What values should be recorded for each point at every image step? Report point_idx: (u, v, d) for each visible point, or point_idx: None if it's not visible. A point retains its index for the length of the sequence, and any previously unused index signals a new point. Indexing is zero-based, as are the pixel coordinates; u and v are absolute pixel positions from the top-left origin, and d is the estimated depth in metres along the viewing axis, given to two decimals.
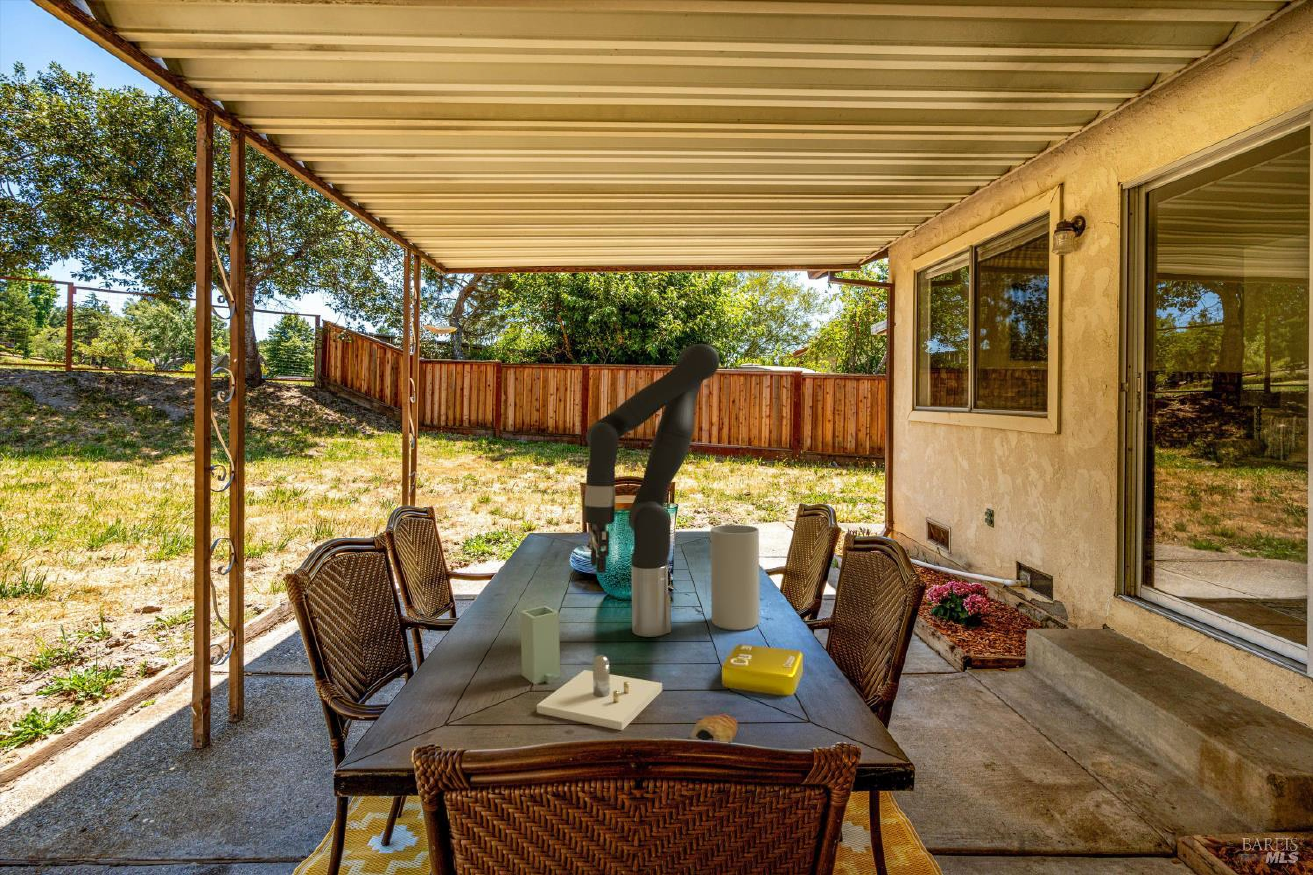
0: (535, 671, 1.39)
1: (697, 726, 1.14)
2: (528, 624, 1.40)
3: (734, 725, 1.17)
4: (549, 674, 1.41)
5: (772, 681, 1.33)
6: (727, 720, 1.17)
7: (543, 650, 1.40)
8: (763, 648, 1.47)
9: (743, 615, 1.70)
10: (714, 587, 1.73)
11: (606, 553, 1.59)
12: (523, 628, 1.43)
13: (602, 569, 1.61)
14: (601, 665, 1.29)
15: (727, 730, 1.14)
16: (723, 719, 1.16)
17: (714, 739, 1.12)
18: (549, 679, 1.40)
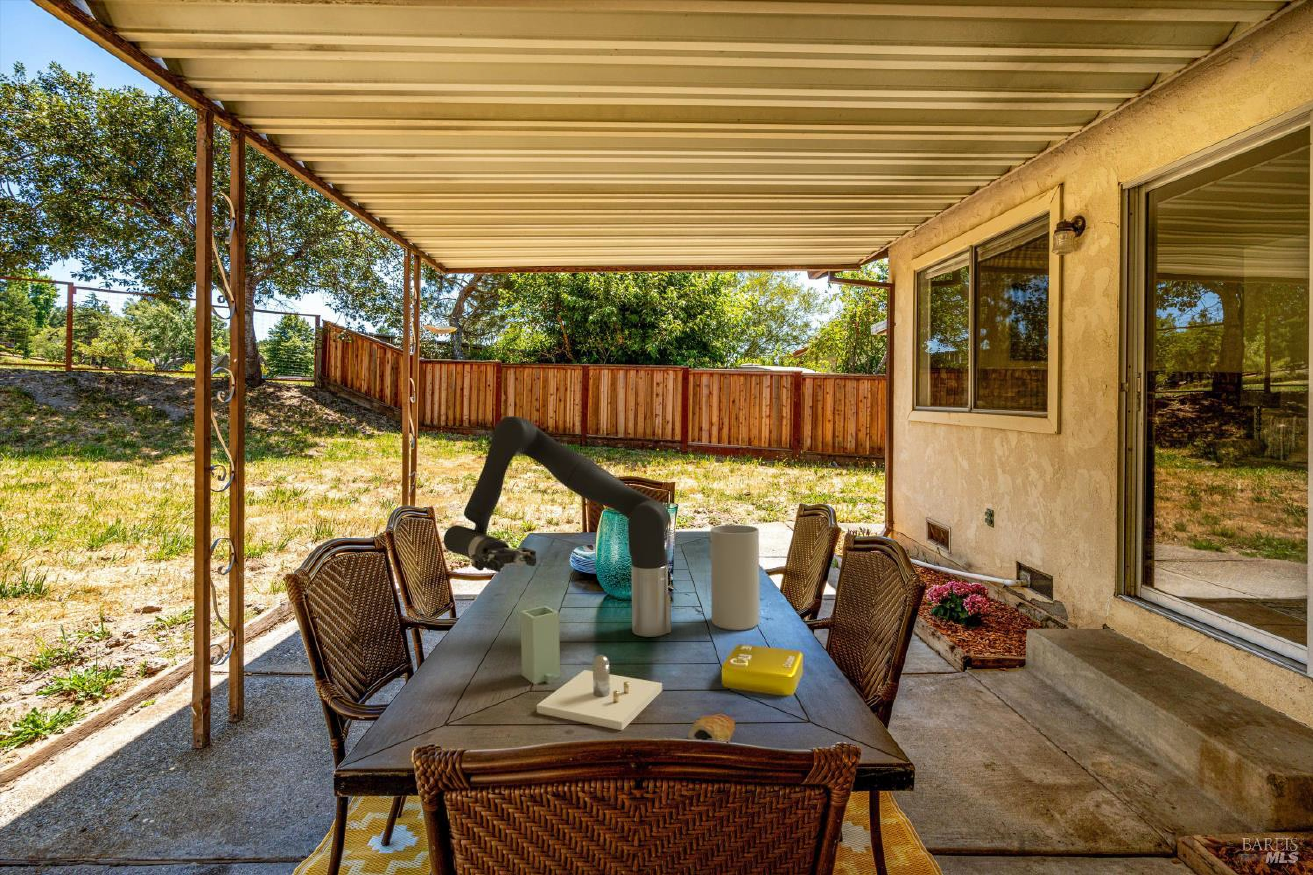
0: (535, 671, 1.39)
1: (695, 726, 1.14)
2: (528, 624, 1.40)
3: (732, 725, 1.17)
4: (549, 674, 1.41)
5: (772, 681, 1.33)
6: (725, 720, 1.17)
7: (543, 650, 1.40)
8: (763, 648, 1.47)
9: (743, 615, 1.70)
10: (714, 587, 1.73)
11: (478, 561, 1.51)
12: (523, 628, 1.43)
13: (493, 566, 1.49)
14: (601, 665, 1.29)
15: (725, 730, 1.14)
16: (721, 719, 1.16)
17: (712, 739, 1.12)
18: (549, 679, 1.40)
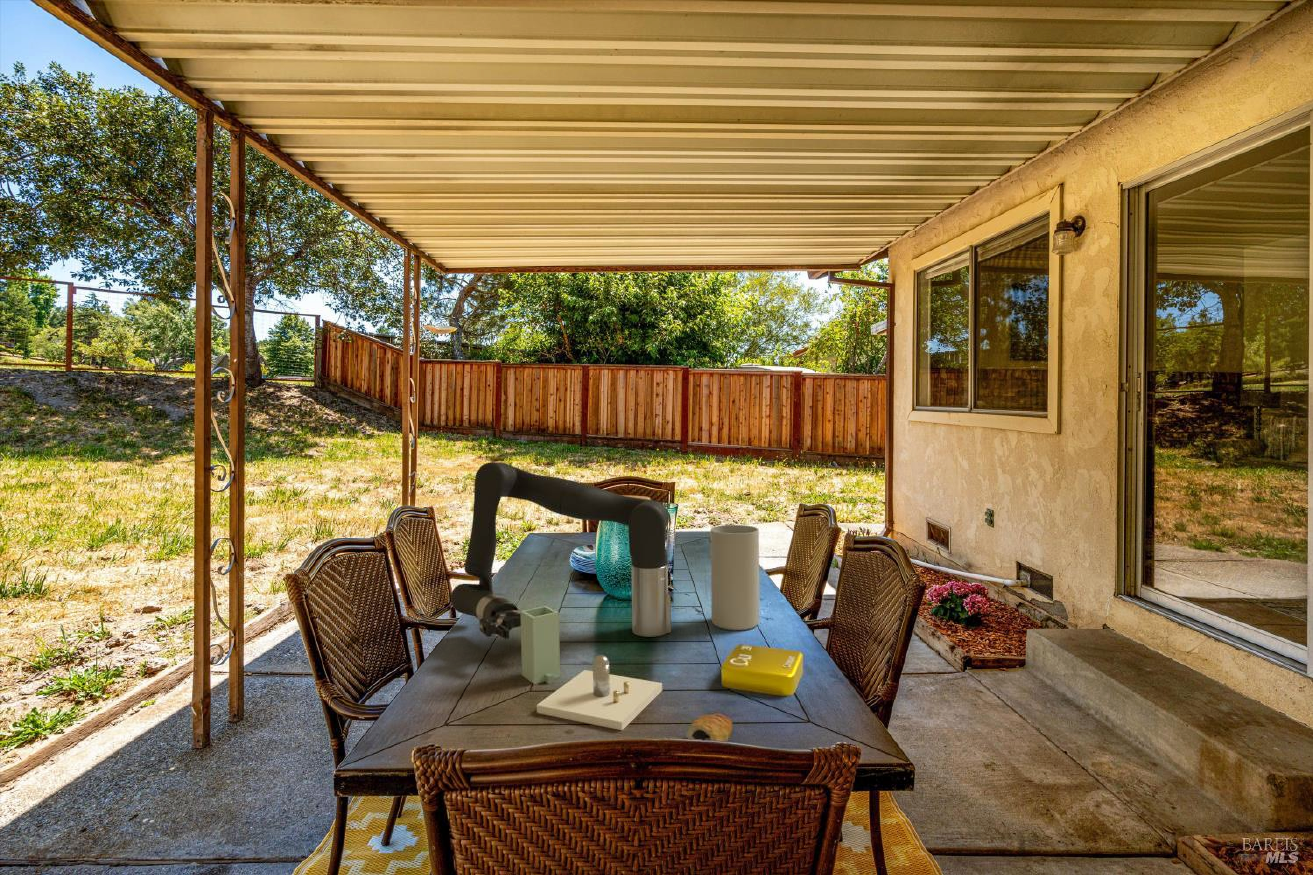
0: (535, 671, 1.39)
1: (693, 726, 1.14)
2: (528, 624, 1.40)
3: (729, 724, 1.17)
4: (549, 674, 1.41)
5: (772, 682, 1.33)
6: (722, 719, 1.17)
7: (543, 650, 1.40)
8: (763, 648, 1.47)
9: (743, 615, 1.70)
10: (714, 587, 1.73)
11: (486, 627, 1.49)
12: (523, 628, 1.43)
13: (501, 633, 1.47)
14: (601, 665, 1.29)
15: (723, 729, 1.14)
16: (718, 719, 1.16)
17: (711, 739, 1.12)
18: (549, 679, 1.40)
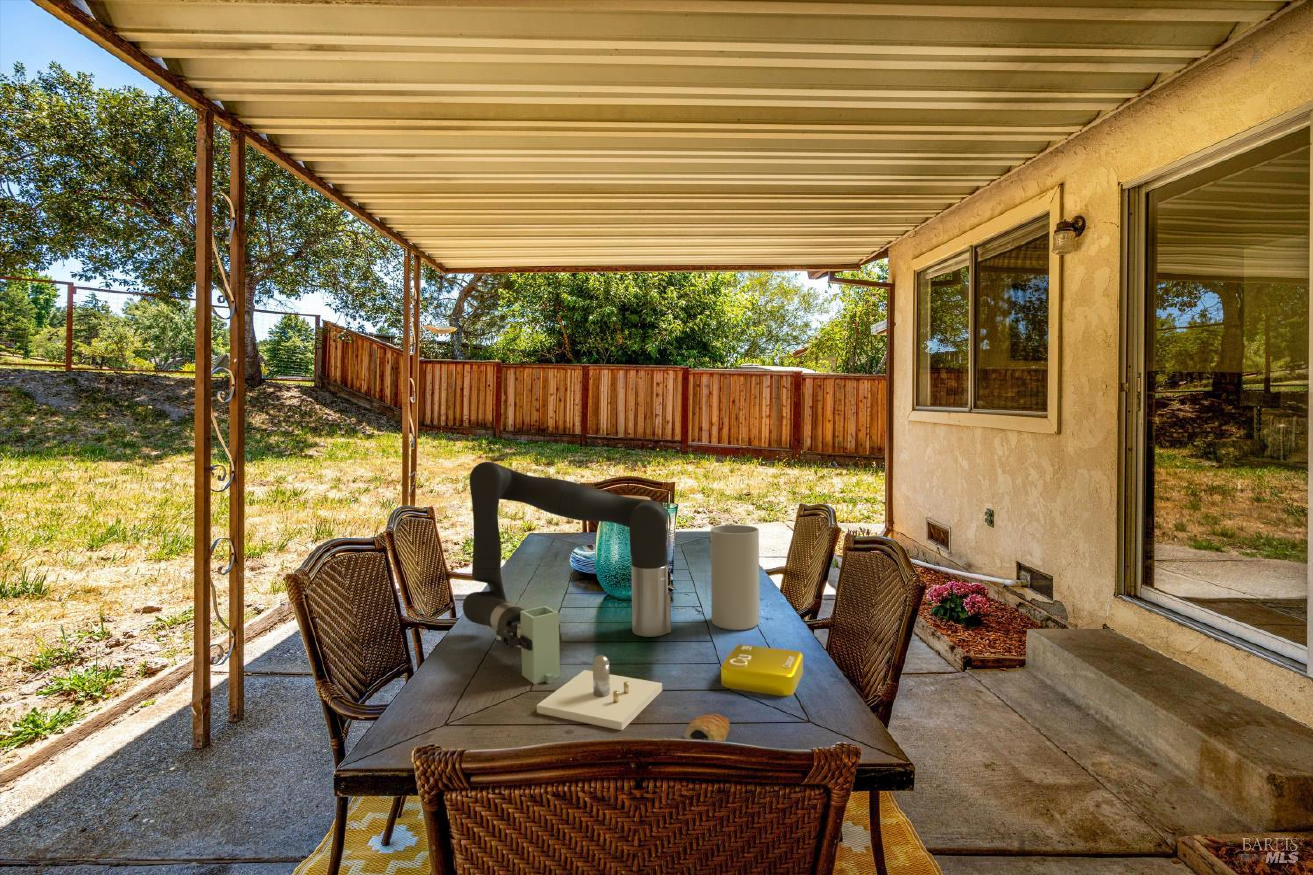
0: (535, 671, 1.39)
1: (691, 726, 1.14)
2: (528, 624, 1.40)
3: (727, 724, 1.17)
4: (549, 674, 1.41)
5: (771, 682, 1.33)
6: (720, 719, 1.17)
7: (543, 650, 1.40)
8: (763, 648, 1.47)
9: (743, 615, 1.70)
10: (714, 587, 1.73)
11: (508, 639, 1.42)
12: (523, 628, 1.43)
13: (525, 644, 1.39)
14: (601, 665, 1.29)
15: (721, 729, 1.14)
16: (716, 718, 1.17)
17: (709, 739, 1.12)
18: (549, 679, 1.40)
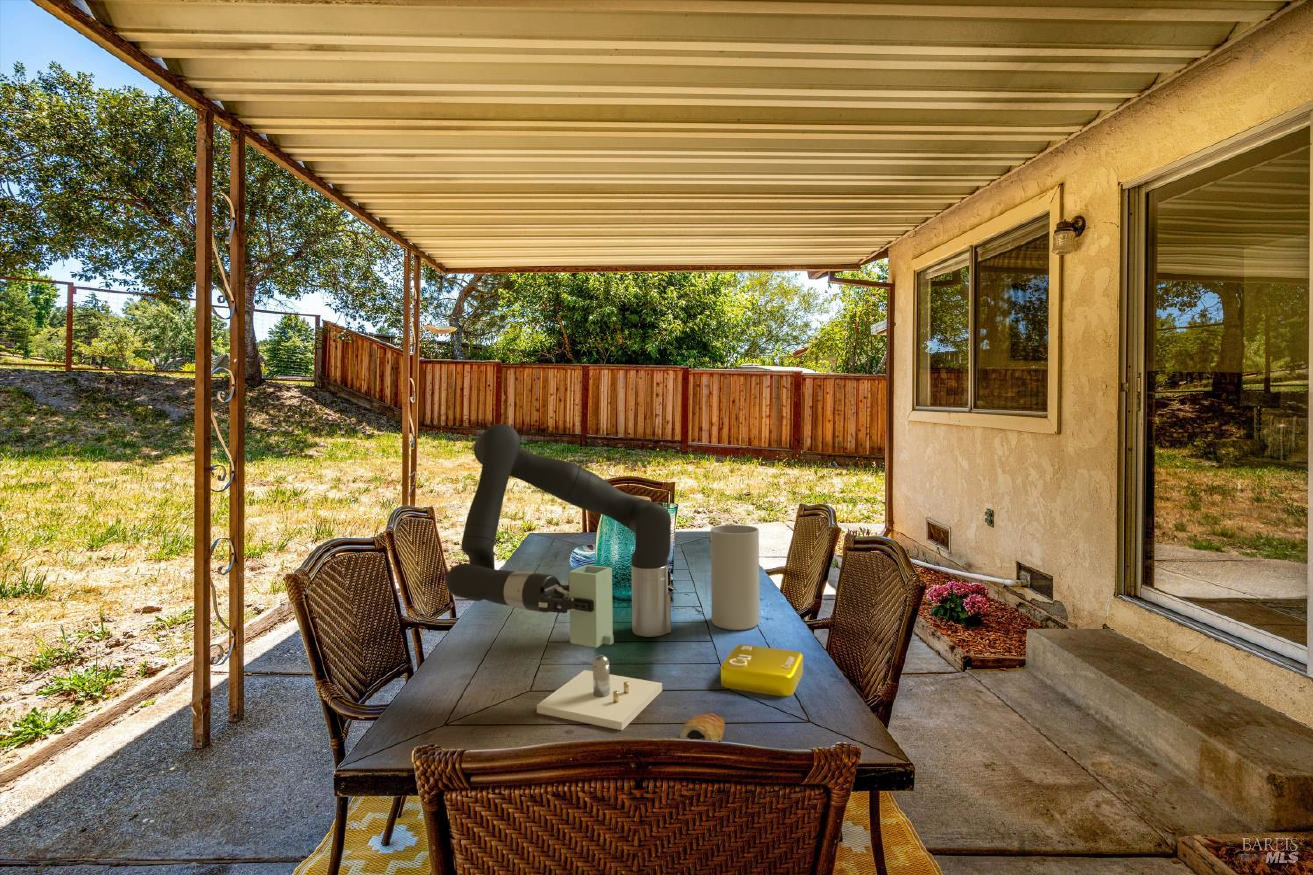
0: (597, 633, 1.27)
1: (687, 727, 1.14)
2: (586, 584, 1.27)
3: (722, 723, 1.17)
4: (608, 635, 1.29)
5: (771, 682, 1.33)
6: (715, 719, 1.17)
7: (602, 609, 1.29)
8: (763, 649, 1.47)
9: (743, 615, 1.70)
10: (714, 587, 1.73)
11: (562, 603, 1.26)
12: (575, 589, 1.29)
13: (586, 605, 1.26)
14: (601, 665, 1.29)
15: (717, 729, 1.14)
16: (712, 718, 1.17)
17: (706, 739, 1.12)
18: (611, 640, 1.29)
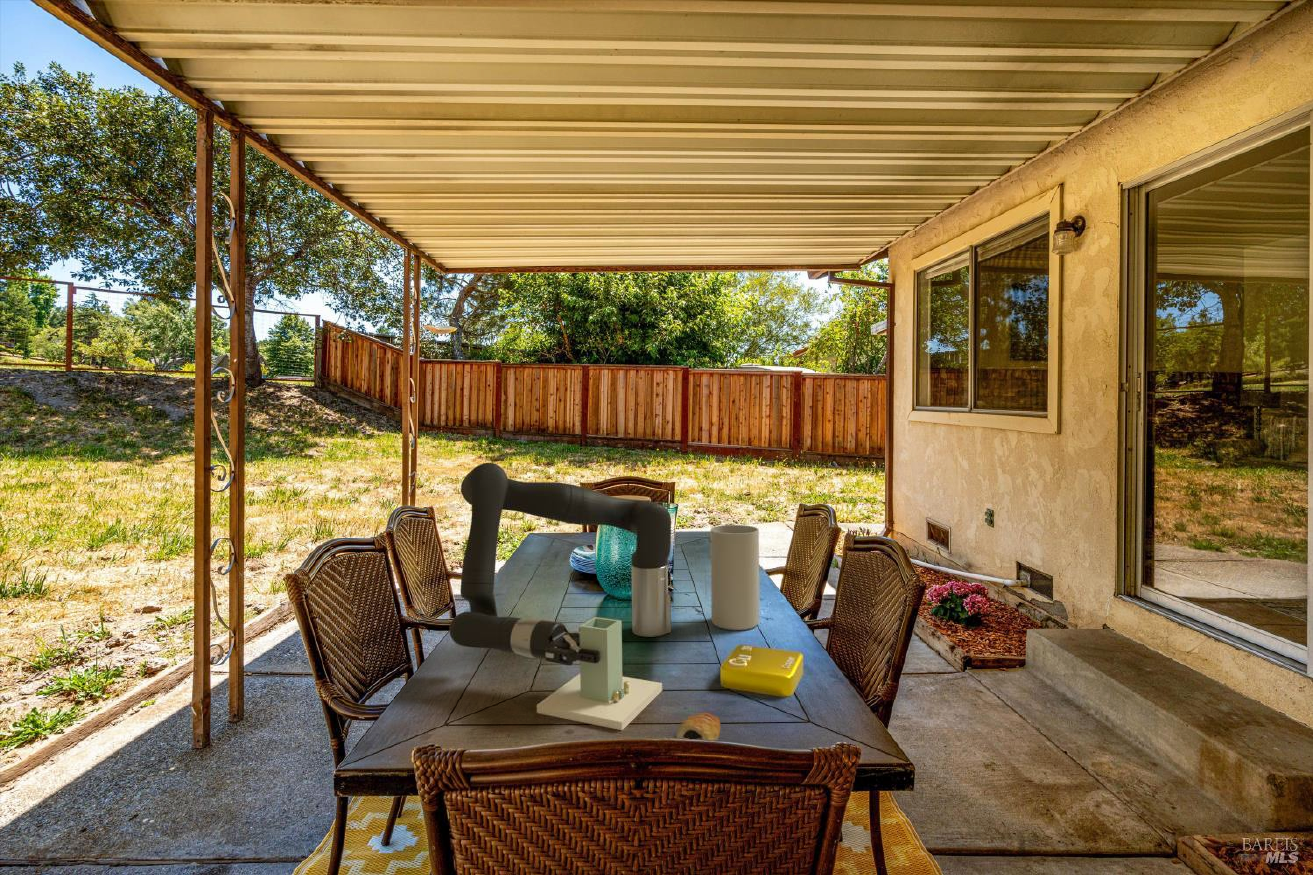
0: (608, 688, 1.27)
1: (684, 727, 1.14)
2: (597, 639, 1.27)
3: (718, 723, 1.17)
4: (618, 689, 1.29)
5: (770, 682, 1.33)
6: (711, 718, 1.17)
7: (613, 664, 1.28)
8: (764, 649, 1.47)
9: (743, 615, 1.70)
10: (714, 587, 1.73)
11: (567, 655, 1.25)
12: (585, 644, 1.28)
13: (592, 657, 1.25)
14: None
15: (714, 728, 1.15)
16: (708, 718, 1.17)
17: (703, 738, 1.12)
18: (622, 694, 1.29)
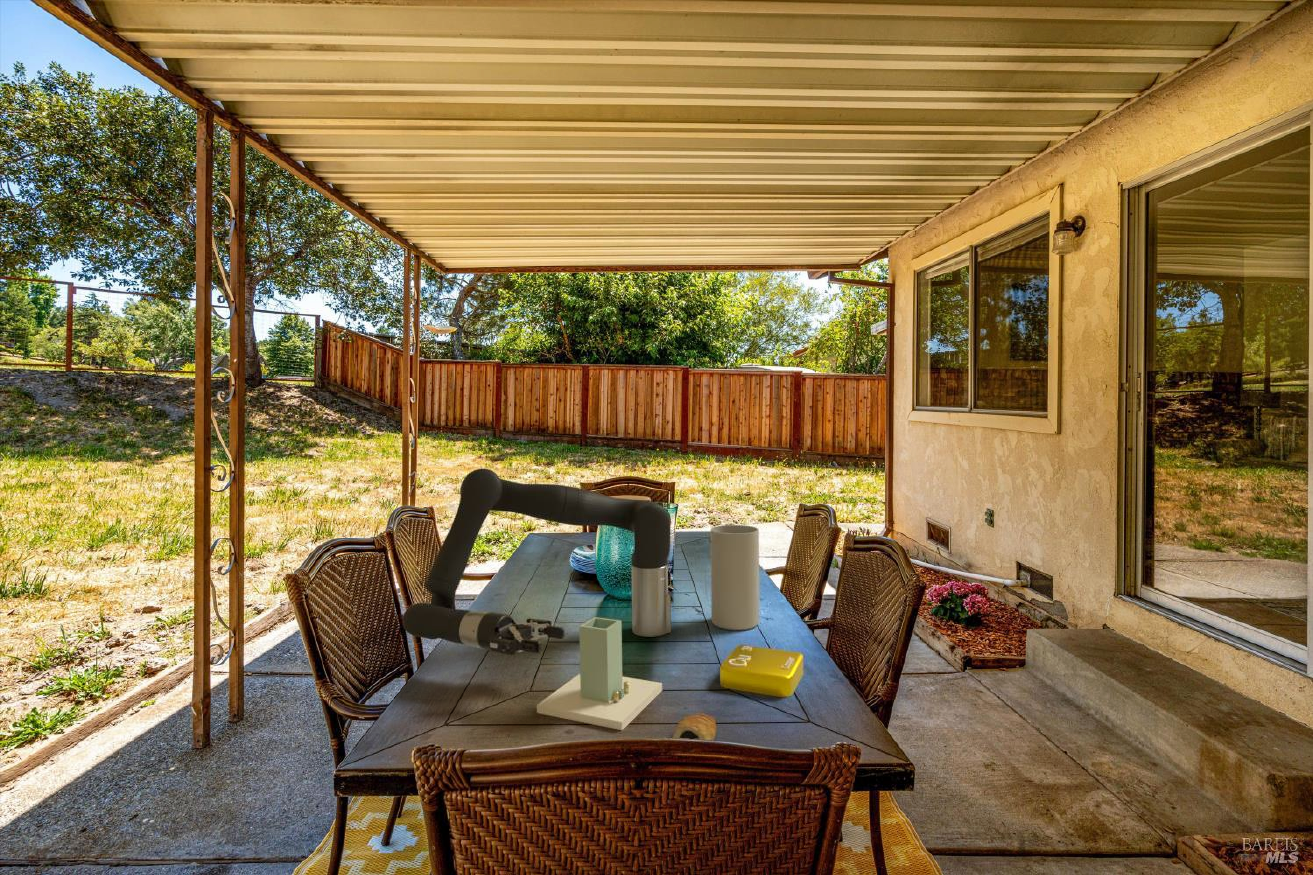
0: (608, 688, 1.27)
1: (681, 727, 1.14)
2: (597, 639, 1.27)
3: (714, 723, 1.17)
4: (618, 689, 1.29)
5: (769, 683, 1.33)
6: (707, 719, 1.17)
7: (613, 664, 1.28)
8: (764, 649, 1.47)
9: (743, 615, 1.70)
10: (714, 587, 1.73)
11: (509, 645, 1.30)
12: (585, 644, 1.28)
13: (533, 647, 1.30)
14: None
15: (710, 728, 1.15)
16: (703, 718, 1.17)
17: None
18: (622, 694, 1.29)
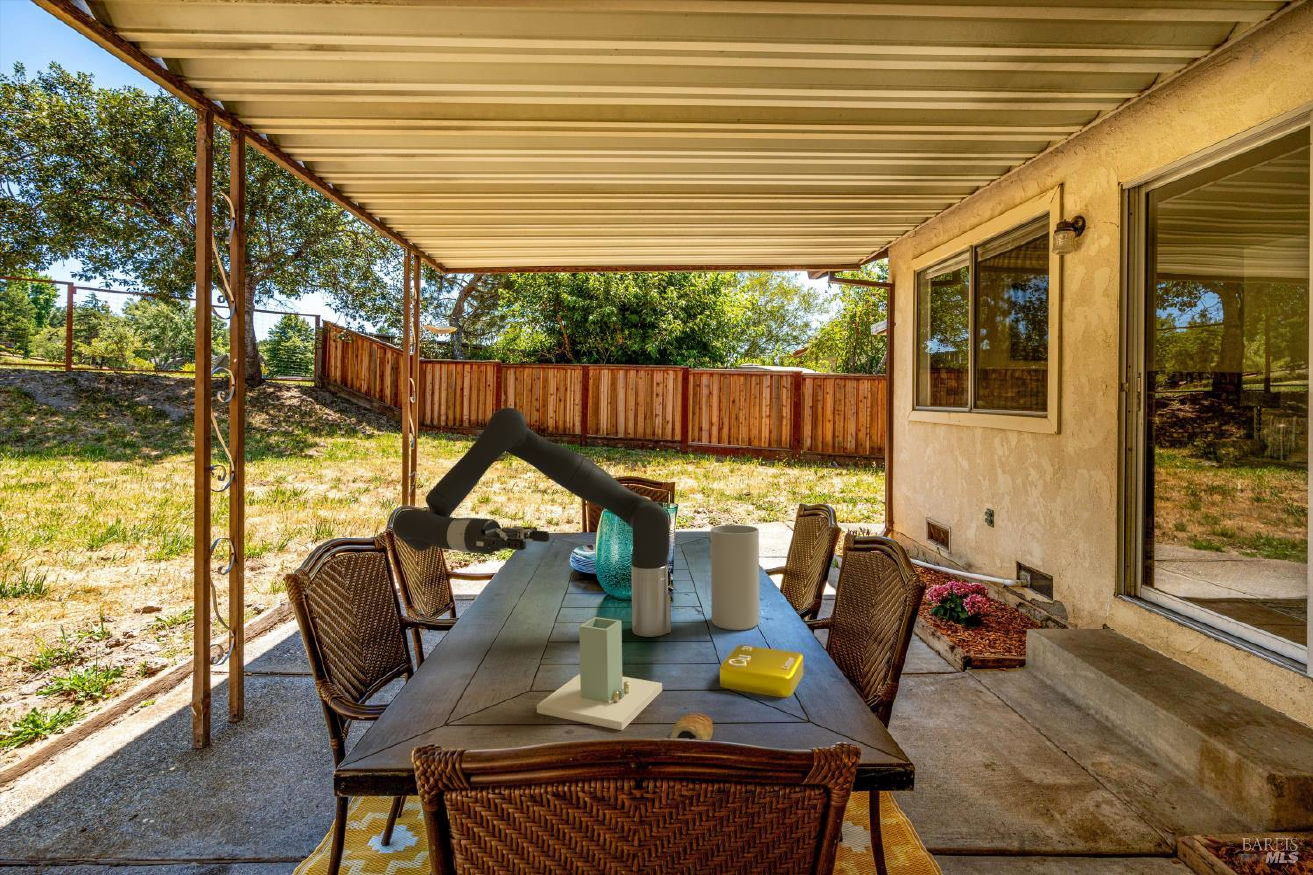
0: (608, 688, 1.27)
1: (678, 728, 1.13)
2: (597, 639, 1.27)
3: (710, 723, 1.18)
4: (618, 689, 1.29)
5: (769, 683, 1.32)
6: (704, 718, 1.17)
7: (613, 664, 1.28)
8: (764, 649, 1.47)
9: (743, 615, 1.70)
10: (714, 587, 1.73)
11: (495, 542, 1.34)
12: (585, 644, 1.28)
13: (518, 544, 1.34)
14: None
15: (707, 728, 1.15)
16: (700, 718, 1.17)
17: None
18: (622, 694, 1.29)
